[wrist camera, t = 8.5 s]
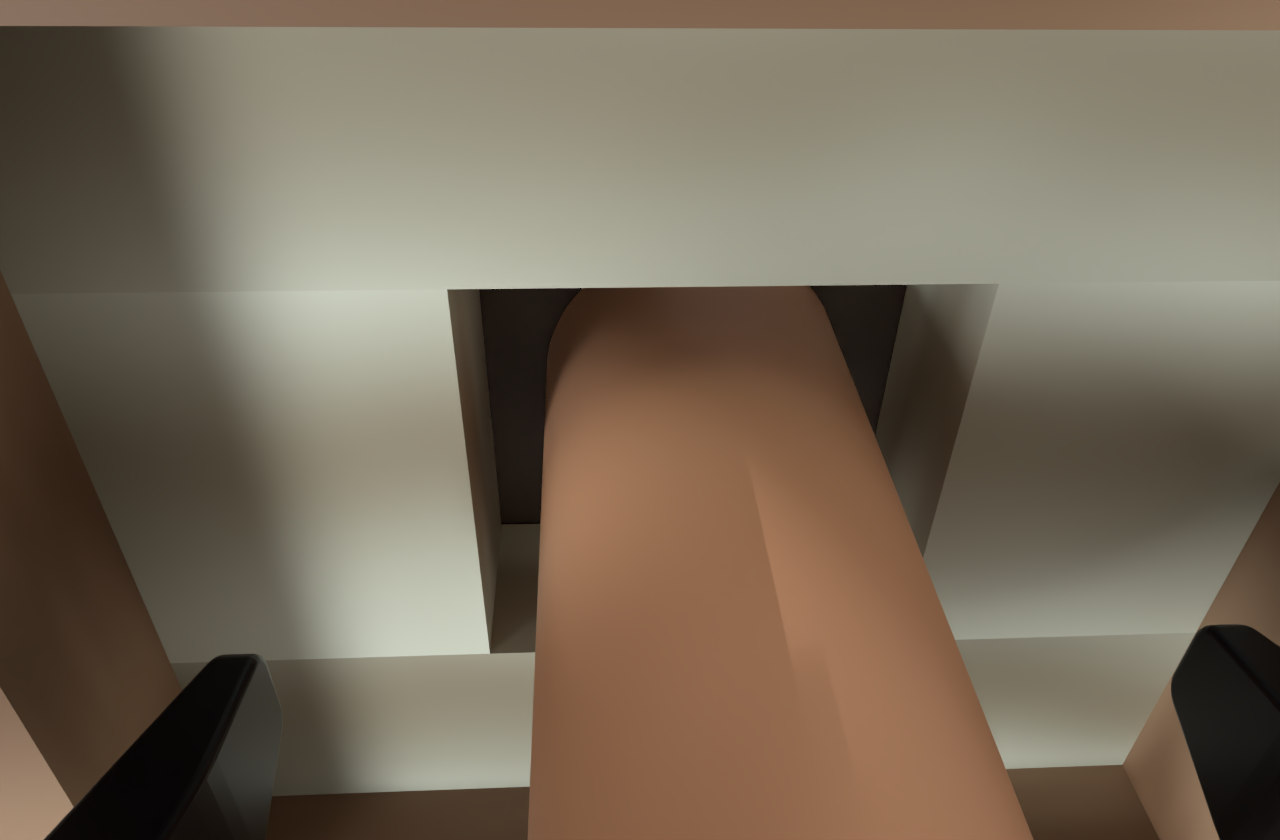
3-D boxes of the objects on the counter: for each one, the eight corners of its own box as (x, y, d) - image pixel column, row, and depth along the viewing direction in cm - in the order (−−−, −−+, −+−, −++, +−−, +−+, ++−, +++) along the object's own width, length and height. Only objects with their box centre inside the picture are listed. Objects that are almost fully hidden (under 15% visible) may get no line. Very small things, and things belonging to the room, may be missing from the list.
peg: (815, 477, 15) (993, 1076, 8) (552, 482, 15) (534, 1103, 8) (854, 239, 12) (1149, 832, 6) (540, 242, 12) (501, 859, 6)
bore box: (1097, 674, 18) (1243, 954, 14) (224, 702, 17) (120, 1007, 13) (1528, -220, 10) (2194, -146, 6) (-152, -249, 9) (-747, -187, 5)
